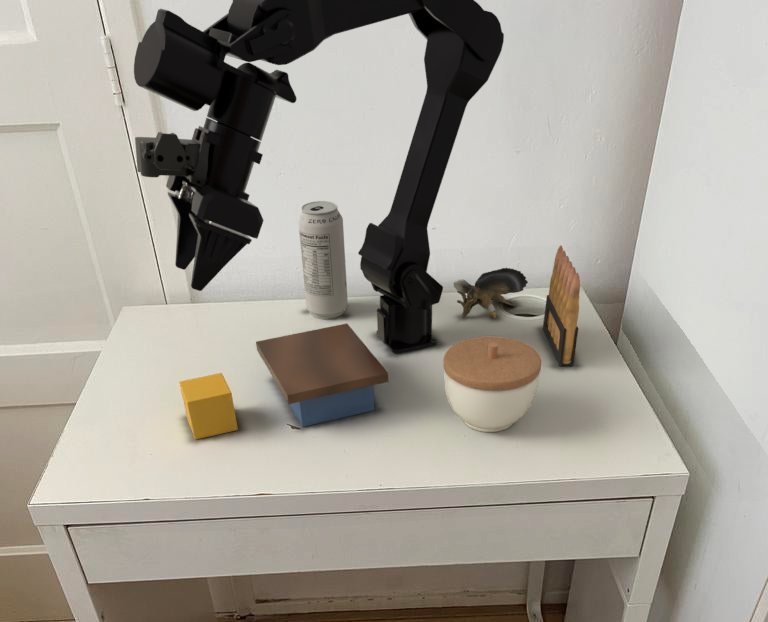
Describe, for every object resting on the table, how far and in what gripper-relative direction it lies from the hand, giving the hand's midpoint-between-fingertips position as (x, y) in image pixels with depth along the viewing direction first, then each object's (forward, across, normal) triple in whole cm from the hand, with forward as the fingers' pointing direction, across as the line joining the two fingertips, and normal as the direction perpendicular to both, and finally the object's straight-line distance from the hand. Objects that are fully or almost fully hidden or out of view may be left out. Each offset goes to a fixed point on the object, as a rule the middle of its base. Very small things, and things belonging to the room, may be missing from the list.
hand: (187, 278), depth 84 cm
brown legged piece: (-7, -10, +44) cm, 46 cm away
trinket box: (+2, +14, +34) cm, 37 cm away
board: (+5, +1, +18) cm, 18 cm away
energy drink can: (+2, -21, +26) cm, 33 cm away
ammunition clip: (-7, +3, +48) cm, 49 cm away
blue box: (+8, +1, +20) cm, 21 cm away
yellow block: (+15, +2, +7) cm, 17 cm away
